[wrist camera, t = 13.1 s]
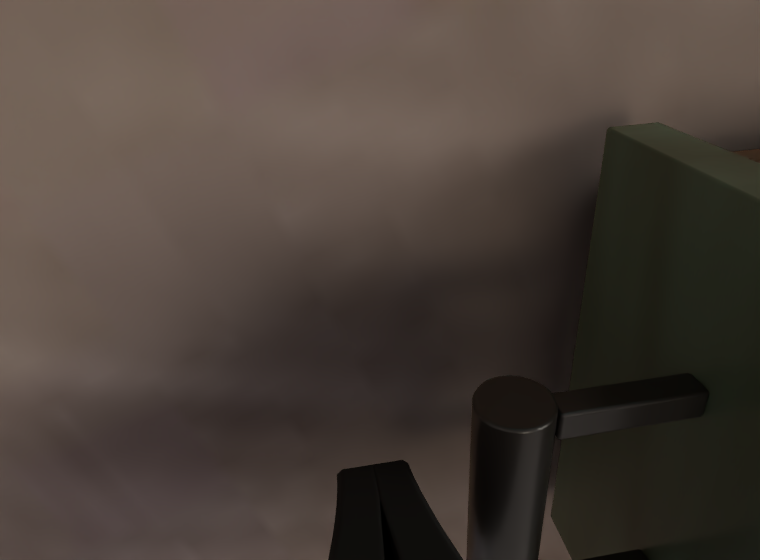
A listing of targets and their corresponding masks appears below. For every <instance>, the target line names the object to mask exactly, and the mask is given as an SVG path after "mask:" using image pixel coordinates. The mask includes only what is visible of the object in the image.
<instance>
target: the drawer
mask: <svg viewBox="0 0 760 560" xmlns="http://www.w3.org/2000/svg"><path fill="white" fill-rule="evenodd" d="M555 435H556V437H557V438H558V439H560V440H562V442H561V449H560V456H559V463H558V469H557V476H556V483H555V490H554V497H553V504H552V511H551V517H552V519H553V522H554V524H555V526H556V528H557V530H558V532H559V534H560V536H561V538H562V540H563V542H564V544H565V546H566V548H567V550H568V552H569V554H570V556H571V558H572V560H760V149H753V150H743V151H734V152H730V151H728V150H725V149H723V148H720V147H718V146H715V145H713V144H710V143H708V142H705V141H703V140H700V139H698V138H695V137H693V136H690V135H688V134H686V133H683V132H681V131H678V130H676V129H673V128H671V127H668V126H666V125H663V124H661V123H648V124H638V125H628V126H618V127H609V128H608V129H607V133H606V140H605V147H604V154H603V161H602V167H601V174H600V181H599V188H598V195H597V202H596V209H595V215H594V222H593V229H592V236H591V243H590V250H589V257H588V264H587V270H586V277H585V284H584V291H583V298H582V305H581V312H580V318H579V325H578V332H577V339H576V346H575V353H574V360H573V366H572V373H571V380H570V387H569V391H563V392H556V393H551V392H550V391H549V390H548V389H547V388H546V387H545V386H543V385H542V384H540V383H538V382H536V381H534V380H531V379H528V378H525V377H521V376H511V375H509V376H498V377H494V378H491V379H489V380H487V381H485V382H483V383H482V384H481V385H480V386H479V387H478V388H477V389H476V391H475V392H474V394H473V397H472V416H471V444H470V472H469V501H468V529H467V557H466V560H538V555H539V548H540V540H541V533H542V526H543V518H544V511H545V504H546V497H547V489H548V482H549V475H550V467H551V460H552V453H553V445H554V438H555Z"/></svg>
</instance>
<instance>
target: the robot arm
mask: <svg viewBox="0 0 760 560" xmlns="http://www.w3.org/2000/svg"><path fill="white" fill-rule="evenodd" d="M328 560H463V559H462V557H461V556H460V554H459V553H458V551H457V550H456V548H455V547H454V545H453V544H452V542H451V540H450V539H449V537H448V536H447V534H446V533H445V531H444V530H443V528H442V527H441V525H440V523H439V522H438V520H437V518H436V517H435V515H434V513H433V512H432V510H431V508H430V506H429V505H428V503H427V501H426V499H425V497H424V496H423V494H422V492H421V490H420V488H419V486H418V484H417V482H416V480H415V478H414V476H413V474H412V471H411V469H410V467H409V464H408V463H407V462H405V461H404V460H398V461H392V462H386V463H380V464H374V465H367V466H361V467H355V468H349V469H343V470H341V471H340V472H339V473H338V474H337V506H336V516H335V524H334V531H333V538H332V543H331V549H330V554H329V559H328Z"/></svg>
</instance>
